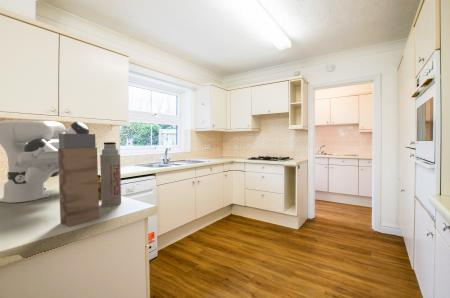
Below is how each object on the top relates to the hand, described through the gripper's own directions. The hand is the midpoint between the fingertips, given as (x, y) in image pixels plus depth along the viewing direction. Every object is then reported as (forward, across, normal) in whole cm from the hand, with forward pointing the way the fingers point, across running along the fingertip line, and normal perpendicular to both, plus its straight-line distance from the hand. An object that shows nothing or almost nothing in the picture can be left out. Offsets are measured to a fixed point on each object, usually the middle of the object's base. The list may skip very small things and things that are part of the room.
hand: (56, 148), depth 89 cm
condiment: (-18, +16, +19) cm, 31 cm away
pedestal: (+4, -1, +32) cm, 32 cm away
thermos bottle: (-6, +17, +27) cm, 32 cm away
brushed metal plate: (+12, -1, +7) cm, 14 cm away
